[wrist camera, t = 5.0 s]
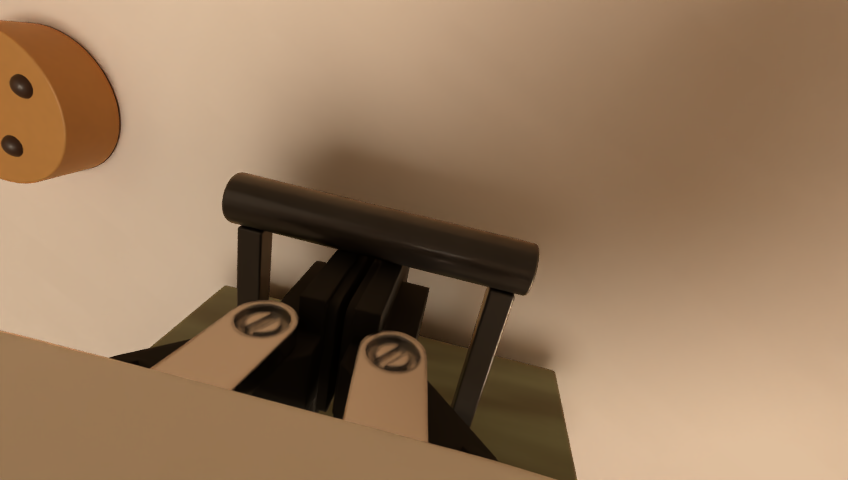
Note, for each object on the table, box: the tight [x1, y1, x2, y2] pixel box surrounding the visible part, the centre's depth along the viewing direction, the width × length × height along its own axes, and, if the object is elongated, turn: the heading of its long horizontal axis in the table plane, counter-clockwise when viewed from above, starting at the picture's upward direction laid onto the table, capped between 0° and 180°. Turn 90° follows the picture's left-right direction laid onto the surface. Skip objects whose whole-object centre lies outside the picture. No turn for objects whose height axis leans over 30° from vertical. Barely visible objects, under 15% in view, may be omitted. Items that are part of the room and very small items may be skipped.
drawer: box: [150, 172, 577, 480], centre depth 15 cm, size 21×13×7 cm, turn 168°
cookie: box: [0, 20, 119, 183], centre depth 14 cm, size 5×5×2 cm
